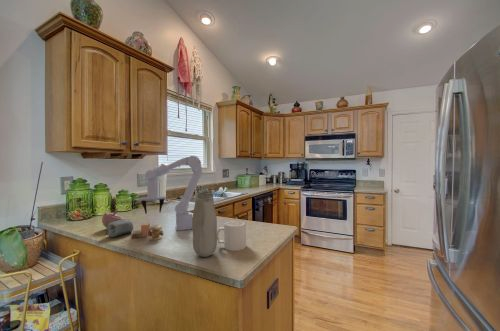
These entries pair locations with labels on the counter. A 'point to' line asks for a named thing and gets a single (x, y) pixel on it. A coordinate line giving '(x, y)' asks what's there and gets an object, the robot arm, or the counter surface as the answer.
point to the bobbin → (155, 232)
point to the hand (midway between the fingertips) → (153, 212)
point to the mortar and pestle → (110, 218)
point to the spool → (119, 227)
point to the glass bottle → (204, 224)
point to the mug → (233, 235)
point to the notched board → (138, 233)
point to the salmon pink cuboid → (145, 229)
